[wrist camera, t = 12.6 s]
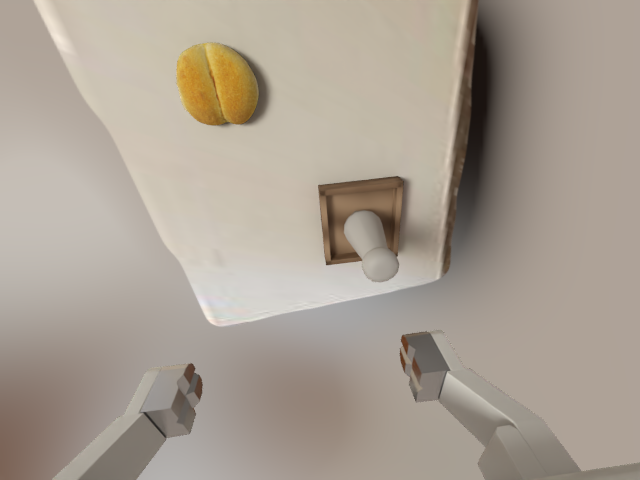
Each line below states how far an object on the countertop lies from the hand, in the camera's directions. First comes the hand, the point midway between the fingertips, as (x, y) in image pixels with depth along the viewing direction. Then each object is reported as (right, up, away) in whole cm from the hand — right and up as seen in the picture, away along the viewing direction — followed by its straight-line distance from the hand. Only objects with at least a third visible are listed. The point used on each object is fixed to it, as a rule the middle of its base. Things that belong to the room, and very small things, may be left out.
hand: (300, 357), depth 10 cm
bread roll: (-11, +23, +22) cm, 34 cm away
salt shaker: (+7, +8, +32) cm, 33 cm away
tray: (+7, +8, +32) cm, 34 cm away
